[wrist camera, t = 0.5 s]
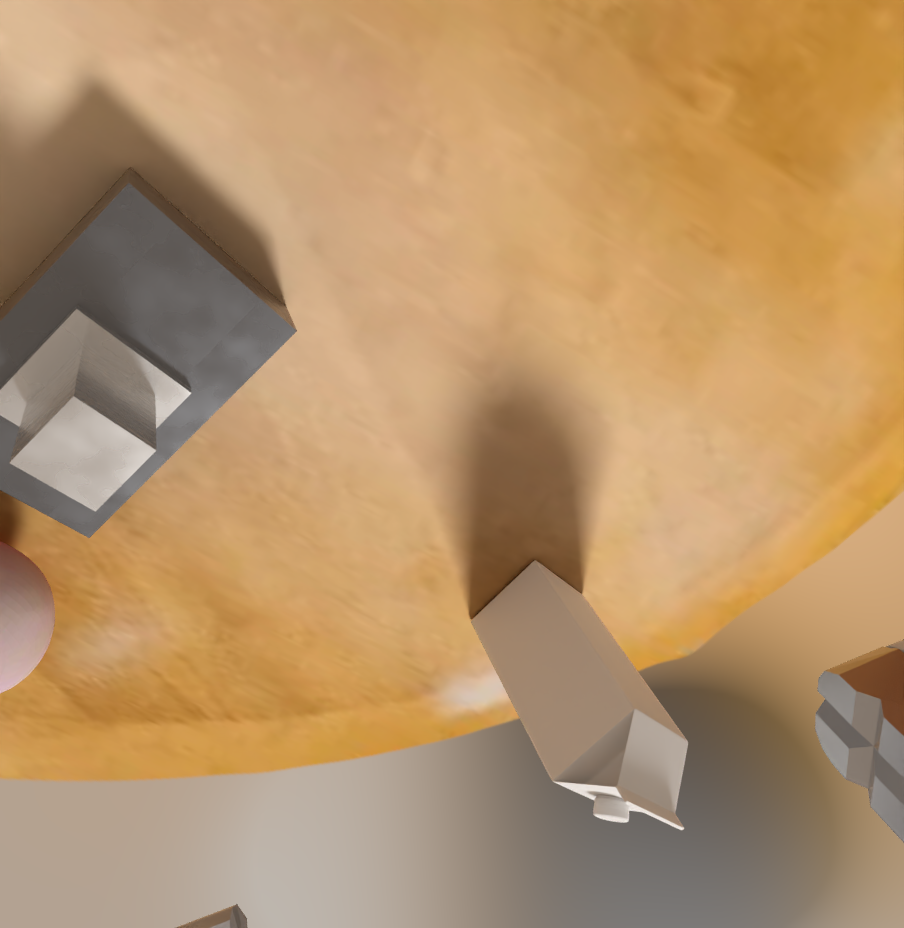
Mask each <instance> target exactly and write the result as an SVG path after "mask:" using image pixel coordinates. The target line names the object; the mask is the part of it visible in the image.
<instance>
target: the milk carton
mask: <svg viewBox="0 0 904 928" xmlns="http://www.w3.org/2000/svg"><path fill="white" fill-rule="evenodd" d="M471 623H472V625H473V627H474V629H475V631H476V633H477V635H478V637H479V639H480V641H481V643H482V645H483V647H484V649H485V651H486V653H487V655H488V657H489V659H490V661H491V662H492V664H493V666H494V668H495V670H496V672H497V674H498V676H499V678H500V680H501V682H502V684H503V686H504V688H505V690H506V692H507V694H508V696H509V698H510V700H511V702H512V704H513V706H514V708H515V710H516V712H517V714H518V716H519V718H520V719H521V721H522V723H523V725H524V727H525V729H526V731H527V733H528V735H529V737H530V739H531V741H532V743H533V745H534V747H535V749H536V751H537V753H538V755H539V757H540V759H541V760H542V763H543V765H544V767H545V768H546V770H547V772H548V774H549V776H550V778H551V779H552V781H553V782H555V783H557V784H559V785H562V786H564V787H566V788H568V789H570V790H572V791H574V792H577V793H579V794H581V795H583V796H586V797H588V798H590V799H592V800H594V803H595V804H594V809H593V814H594V815H595V816H596V817H598V818H601V819H604V820H608V821H614V822H628V820H629V810H630V811H639V812H644V813H646V814H648V815H650V816H652V817H654V818H656V819H659V820H661V821H663V822H665V823H667V824H669V825H671V826H673V827H675V828H678V829H680V830H683V829H684V827H683V826H682V824H681V822H680V821H679V819H678V818H677V817H676V814H675V810H676V804H677V800H678V794H679V788H680V783H681V779H682V773H683V768H684V763H685V757H686V752H687V747H688V741H687V740H686V738H685V737H684V736H683V734H682V733H681V731H680V730H679V729H678V727H677V726H676V724H675V723H674V722H673V720H672V719H671V717H670V716H669V715H668V713H667V712H666V710H665V709H664V708H663V706H662V705H661V703H660V702H659V701H658V699H657V698H656V697H655V695H654V694H653V692H652V691H651V689H650V688H649V687H648V685H647V684H646V682H645V681H644V680H643V678H642V677H641V675H640V674H639V673H638V671H637V670H636V668H635V667H634V666H633V664H632V663H631V661H630V660H629V659H628V657H627V656H626V654H625V653H624V652H623V650H622V649H621V647H620V646H619V645H618V643H617V642H616V640H615V639H614V638H613V636H612V635H611V633H610V632H609V631H608V629H607V628H606V626H605V625H604V624H603V622H602V621H601V620H600V618H599V617H598V615H597V614H596V613H595V611H594V610H593V608H592V607H591V606H590V604H589V603H588V601H587V600H586V599H585V597H584V596H583V595H582V594H581V593H579V592H578V591H577V590H575V589H574V588H573V587H571V586H570V585H569V584H567V583H566V582H565V581H563V580H562V579H561V578H559V577H558V576H557V575H555V574H554V573H553V572H551V571H550V570H548V569H547V568H546V567H544V566H543V565H542V564H540V563H539V562H538V561H536V560H534V561H533V562H532V563H531V564H530V565H529V566H528V567H527V568H526V569H525V570H524V571H522V572H521V573H520V574H519V575H518V576H517V577H516V578H515V579H514V580H513V581H512V582H511V583H510V584H509V585H508V586H507V587H506V588H505V589H504V590H502V591H501V592H500V593H499V594H498V595H497V596H496V597H495V598H494V599H493V600H492V601H491V602H490V603H489V604H488V605H487V606H486V607H485V608H484V609H483V610H481V611H480V612H479V613H478V614H477V615H476V616H475V617H474V618H473V619H472V620H471Z"/></svg>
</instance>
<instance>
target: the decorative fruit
mask: <svg viewBox="0 0 904 928" xmlns="http://www.w3.org/2000/svg"><path fill="white" fill-rule="evenodd" d="M54 623H55V607H54V600H53V595H52V591H51V588H50V586H49V584H48V582H47V580H46V578H45V576H44V575H43V573H42V572H41V570H40V569H39V568H38V567H37V566H36V565H35V564H34V563H33V562H32V561H31V560H30V559H29V558H28V557H26V556H25V555H24V554H22V553H21V552H19V551H18V550H16V549H14V548H13V547H11V546H9V545H7V544H5V543H3V542H1V541H0V693H2V692H4V691H6V690H8V689H10V688H12V687H14V686H15V685H17V684H18V683H19V682H21V681H22V680H23V679H24V678H25V677H27V676H28V675H29V674H30V673H31V672H32V671H33V669H34V668H35V667H36V666H37V665H38V663H39V662H40V661H41V659H42V657H43V655H44V654H45V652H46V650H47V648H48V645H49V643H50V640H51V636H52V633H53V628H54Z"/></svg>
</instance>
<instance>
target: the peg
mask: <svg viewBox="0 0 904 928" xmlns="http://www.w3.org/2000/svg"><path fill="white" fill-rule="evenodd" d="M191 393H192V392H191V388H190V387H189V386H188V385H186V384H185V383H184V382H182V381H181V380H179V379H178V378H177V377H175V376H174V375H173V374H171V373H170V372H169V371H167V370H166V369H165V368H163V367H162V366H160V365H159V364H158V363H156V362H155V361H154V360H152V359H151V358H150V357H148V356H147V355H146V354H144V353H143V352H141V351H140V350H139V349H137V348H136V347H135V346H133V345H132V344H131V343H129V342H128V341H127V340H125V339H124V338H122V337H121V336H120V335H118V334H117V333H116V332H114V331H113V330H112V329H110V328H109V327H108V326H106V325H105V324H103V323H102V322H101V321H99V320H98V319H97V318H95V317H94V316H93V315H91V314H90V313H89V312H87V311H86V310H84V309H83V308H82V307H80V306H79V305H77V306H76V307H75V308H74V309H73V310H72V311H71V312H70V313H69V314H68V315H67V316H66V317H65V318H64V319H63V320H62V322H61V323H60V324H59V325H58V326H57V327H56V328H55V329H54V330H53V331H52V332H51V333H50V334H49V335H48V336H47V337H46V339H45V340H44V341H43V342H42V343H41V344H40V345H39V346H38V347H37V348H36V349H35V350H34V351H33V352H32V353H31V354H30V356H29V357H28V358H27V359H26V360H25V361H24V362H23V363H22V364H21V365H20V366H19V367H18V368H17V369H16V370H15V371H14V373H13V374H12V375H11V376H10V377H9V378H8V379H7V380H6V381H5V382H4V383H3V384H2V385H1V386H0V415H1V416H2V417H4V418H6V419H7V420H9V421H11V422H12V423H14V424H16V425H17V426H19V431H18V434H17V438H16V441H15V445H14V448H13V452H12V455H11V459H10V462H9V463H10V464H12V465H14V466H15V467H17V468H19V469H21V470H23V471H24V472H26V473H28V474H30V475H31V476H33V477H35V478H37V479H38V480H40V481H42V482H44V483H46V484H47V485H49V486H51V487H53V488H54V489H56V490H58V491H60V492H61V493H63V494H65V495H67V496H69V497H70V498H72V499H74V500H76V501H77V502H79V503H81V504H83V505H84V506H86V507H88V508H90V509H92V510H93V511H95V512H96V511H97V510H98V509H99V508H100V507H101V506H102V505H103V504H104V503H105V502H106V501H107V500H108V499H109V498H110V497H111V496H112V495H113V494H114V493H115V492H116V491H117V490H118V489H119V488H120V487H121V486H122V485H123V484H124V483H125V482H126V481H127V480H128V479H129V478H130V477H131V476H132V475H133V474H134V473H135V472H136V471H137V470H138V469H139V467H140V466H141V465H142V464H143V463H144V462H145V461H146V460H147V459H148V458H149V457H150V456H151V455H152V454H153V453H154V452H155V451H156V428H157V427H158V426H159V425H160V424H161V423H162V422H163V421H164V420H165V419H166V418H167V417H168V416H169V415H170V414H171V413H172V412H173V411H174V410H175V409H176V408H177V407H178V406H179V405H180V404H181V403H182V402H183V401H184V400H185V399H186V398H187V397H188V396H189V395H190V394H191Z"/></svg>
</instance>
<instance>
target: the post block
mask: <svg viewBox="0 0 904 928" xmlns="http://www.w3.org/2000/svg"><path fill="white" fill-rule="evenodd" d="M77 305H79V306H80V307H82V308H83V309H84V310H86V311H87V312H89V313H90V314H91V315H93V316H94V317H95V318H97V319H98V320H99V321H101V322H102V323H103V324H105V325H106V326H108V327H109V328H110V329H112V330H113V331H114V332H116V333H117V334H118V335H120V336H121V337H122V338H124V339H125V340H127V341H128V342H129V343H131V344H132V345H133V346H135V347H136V348H137V349H139V350H140V351H141V352H143V353H144V354H146V355H147V356H148V357H150V358H151V359H152V360H154V361H155V362H156V363H158V364H159V365H160V366H162V367H163V368H165V369H166V370H167V371H169V372H170V373H171V374H173V375H174V376H175V377H177V378H178V379H179V380H181V381H182V382H184V383H185V384H186V385H188V386H189V387H190V388H191V392H192V393H191V394H190V395H189V396H188V397H187V398H186V399H185V400H184V401H183V402H182V403H181V404H180V405H179V406H178V407H177V408H176V409H175V410H174V411H173V412H172V413H171V414H170V415H169V416H168V417H167V418H166V419H165V420H164V421H163V422H162V423H161V424H160V425H159V426H158V427H157V428H156V451H155V452H154V453H153V454H152V455H151V456H150V457H149V458H148V459H147V460H146V461H145V462H144V463H143V464H142V465H141V466H140V467H139V469H138V470H137V471H136V472H135V473H134V474H133V475H132V476H131V477H130V478H129V479H128V480H127V481H126V482H125V483H124V484H123V485H122V486H121V487H120V488H119V489H118V490H117V491H116V492H115V493H114V494H113V495H112V496H111V497H110V498H109V499H108V500H107V501H106V502H105V503H104V504H103V505H102V506H101V507H100V508H99V509H98V510H97V511H96V512H95V511H93V510H92V509H90V508H88V507H86V506H84V505H83V504H81V503H79V502H77V501H76V500H74V499H72V498H70V497H69V496H67V495H65V494H63V493H61V492H60V491H58V490H56V489H54V488H53V487H51V486H49V485H47V484H46V483H44V482H42V481H40V480H38V479H37V478H35V477H33V476H31V475H30V474H28V473H26V472H24V471H23V470H21V469H19V468H17V467H15V466H14V465H12V464H10V463H9V462H10V459H11V455H12V452H13V448H14V445H15V441H16V438H17V434H18V431H19V426H17V425H16V424H14V423H12V422H11V421H9V420H7V419H6V418H4V417H2V416H1V415H0V490H1V491H3V492H5V493H7V494H9V495H10V496H12V497H14V498H16V499H18V500H20V501H22V502H23V503H25V504H27V505H29V506H31V507H33V508H35V509H36V510H38V511H40V512H42V513H44V514H46V515H48V516H49V517H51V518H53V519H55V520H57V521H59V522H61V523H62V524H64V525H66V526H68V527H70V528H72V529H74V530H75V531H77V532H79V533H81V534H83V535H85V536H87V537H88V538H90V537H91V536H92V535H93V534H94V533H95V532H96V531H97V530H98V529H99V528H100V527H101V526H102V525H103V524H104V523H105V522H106V521H107V520H108V519H109V518H110V517H111V516H112V515H113V514H114V513H115V512H116V511H117V510H118V509H119V508H120V507H121V506H122V505H123V504H124V503H125V502H126V501H127V500H128V499H129V498H130V497H131V496H132V495H133V494H134V493H135V492H136V491H137V490H138V489H139V488H140V487H141V486H142V485H143V484H144V483H145V482H146V481H147V480H148V479H149V478H150V477H151V476H152V475H153V474H154V473H155V472H156V471H157V470H158V469H159V468H160V467H161V466H162V465H163V464H164V463H165V462H166V461H167V460H168V459H169V458H170V457H171V456H172V455H173V454H174V453H175V452H176V451H177V450H178V449H179V448H180V447H181V446H182V445H183V444H184V443H185V442H186V441H187V440H188V439H189V438H190V437H191V436H192V435H193V434H194V433H195V432H196V431H197V430H198V429H199V428H200V427H201V426H202V425H203V424H204V423H205V422H206V421H207V420H208V419H209V418H210V417H211V416H212V415H213V414H214V413H215V412H216V411H217V410H218V409H219V408H220V407H221V406H222V405H223V404H224V403H225V402H226V401H227V400H228V399H229V398H230V397H231V396H232V395H233V394H234V393H235V392H236V391H237V390H238V389H239V388H240V387H241V386H242V385H243V384H244V383H245V382H246V381H247V380H248V379H249V378H250V377H251V376H252V375H253V374H254V373H255V372H256V371H257V370H258V369H259V368H260V367H261V366H262V365H263V364H264V363H265V362H266V361H267V360H268V359H269V358H270V357H271V356H272V355H273V354H274V353H275V352H276V351H277V350H278V349H279V348H280V347H281V346H282V345H283V344H284V343H285V342H286V341H287V340H288V339H289V338H290V337H291V336H292V335H293V334H294V333H295V332H296V331H297V330H296V328H295V326H294V323H293V321H292V319H291V316H290V314H289V312H288V310H287V307H285V306H284V305H283V304H282V303H281V302H280V301H279V300H278V299H277V298H275V297H274V296H273V295H272V294H271V293H270V292H269V291H268V290H266V289H265V288H264V287H263V286H262V285H261V284H260V283H259V282H258V281H256V280H255V279H254V278H253V277H252V276H251V275H250V274H249V273H248V272H246V271H245V270H244V269H243V268H242V267H241V266H240V265H239V264H238V263H236V262H235V261H234V260H233V259H232V258H231V257H230V256H229V255H228V254H226V253H225V252H224V251H223V250H222V249H221V248H220V247H219V246H217V245H216V244H215V243H214V242H213V241H212V240H211V239H210V238H209V237H207V236H206V235H205V234H204V233H203V232H202V231H201V230H200V229H199V228H197V227H196V226H195V225H194V224H193V223H192V222H191V221H190V220H189V219H187V218H186V217H185V216H184V215H183V214H182V213H181V212H180V211H179V210H177V209H176V208H175V207H174V206H173V205H172V204H171V203H170V202H168V201H167V200H166V199H165V198H164V197H163V196H162V195H161V194H160V193H158V192H157V191H156V190H155V189H154V188H153V187H152V186H151V185H150V184H148V183H147V182H146V181H145V180H144V179H143V178H142V177H141V176H140V175H138V174H137V173H136V172H135V171H134V170H133V169H132V168H131V167H130V168H129V169H128V170H127V171H126V172H125V173H124V174H123V176H122V177H121V178H120V179H119V180H118V181H117V182H116V183H115V184H114V185H113V186H112V187H111V189H110V190H109V191H108V192H107V193H106V194H105V195H104V196H103V197H102V198H101V199H100V200H99V202H98V203H97V204H96V205H95V206H94V207H93V208H92V209H91V210H90V211H89V212H88V213H87V215H86V216H85V217H84V218H83V219H82V220H81V221H80V222H79V223H78V224H77V225H76V226H75V228H74V229H73V230H72V231H71V232H70V233H69V234H68V235H67V236H66V237H65V238H64V239H63V241H62V242H61V243H60V244H59V245H58V246H57V247H56V248H55V249H54V250H53V251H52V252H51V254H50V255H49V256H48V257H47V258H46V259H45V260H44V261H43V262H42V263H41V264H40V265H39V267H38V268H37V269H36V270H35V271H34V272H33V273H32V274H31V275H30V276H29V277H28V278H27V280H26V281H25V282H24V283H23V284H22V285H21V286H20V287H19V288H18V289H17V290H16V291H15V293H14V294H13V295H12V296H11V297H10V298H9V299H8V300H7V301H6V302H5V303H4V304H3V306H2V307H1V308H0V386H1V385H2V384H3V383H4V382H5V381H6V380H7V379H8V378H9V377H10V376H11V375H12V374H13V373H14V371H15V370H16V369H17V368H18V367H19V366H20V365H21V364H22V363H23V362H24V361H25V360H26V359H27V358H28V357H29V356H30V354H31V353H32V352H33V351H34V350H35V349H36V348H37V347H38V346H39V345H40V344H41V343H42V342H43V341H44V340H45V339H46V337H47V336H48V335H49V334H50V333H51V332H52V331H53V330H54V329H55V328H56V327H57V326H58V325H59V324H60V323H61V322H62V320H63V319H64V318H65V317H66V316H67V315H68V314H69V313H70V312H71V311H72V310H73V309H74V308H75V307H76V306H77Z"/></svg>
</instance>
